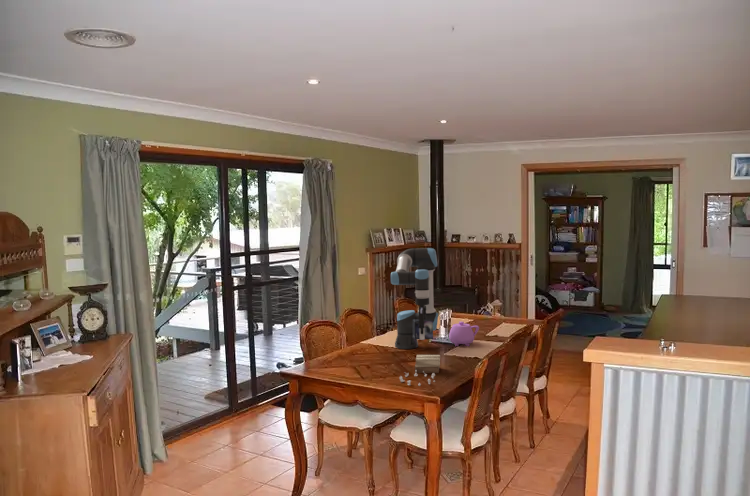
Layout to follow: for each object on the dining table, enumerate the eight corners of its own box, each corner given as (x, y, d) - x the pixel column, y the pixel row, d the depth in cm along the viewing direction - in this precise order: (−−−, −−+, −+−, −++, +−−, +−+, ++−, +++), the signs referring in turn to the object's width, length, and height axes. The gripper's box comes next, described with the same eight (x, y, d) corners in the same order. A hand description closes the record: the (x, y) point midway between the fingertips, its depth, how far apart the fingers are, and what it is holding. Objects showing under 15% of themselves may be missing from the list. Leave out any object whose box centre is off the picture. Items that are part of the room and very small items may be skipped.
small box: (414, 340, 319) (414, 321, 319) (412, 337, 326) (412, 319, 325) (433, 339, 321) (433, 320, 321) (430, 336, 327) (430, 318, 327)
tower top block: (416, 361, 328) (416, 354, 328) (440, 361, 326) (439, 354, 326) (416, 366, 318) (415, 359, 318) (439, 366, 317) (439, 359, 316)
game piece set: (433, 375, 315) (433, 368, 315) (438, 386, 295) (438, 378, 295) (397, 376, 314) (397, 369, 314) (400, 387, 294) (400, 380, 294)
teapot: (477, 340, 392) (477, 318, 391) (480, 347, 372) (480, 324, 371) (448, 340, 394) (448, 318, 393) (449, 347, 374) (449, 324, 373)
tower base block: (416, 368, 329) (416, 361, 328) (439, 368, 327) (439, 362, 326) (414, 373, 319) (414, 366, 319) (438, 374, 317) (438, 366, 316)
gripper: (417, 294, 333) (418, 334, 334) (413, 300, 313) (414, 341, 314) (430, 294, 331) (431, 334, 333) (427, 300, 311) (427, 342, 313)
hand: (422, 337), depth 323 cm, fingers closed on small box, 8 cm apart
